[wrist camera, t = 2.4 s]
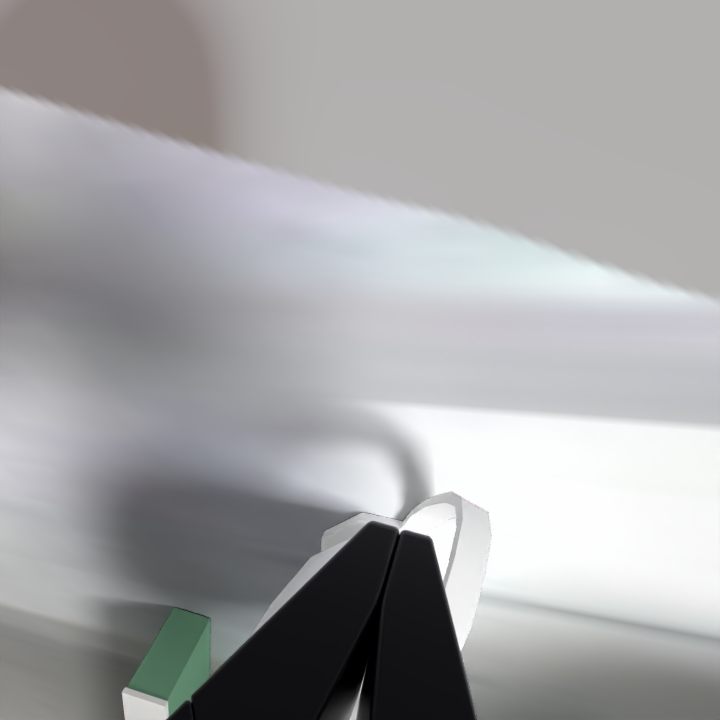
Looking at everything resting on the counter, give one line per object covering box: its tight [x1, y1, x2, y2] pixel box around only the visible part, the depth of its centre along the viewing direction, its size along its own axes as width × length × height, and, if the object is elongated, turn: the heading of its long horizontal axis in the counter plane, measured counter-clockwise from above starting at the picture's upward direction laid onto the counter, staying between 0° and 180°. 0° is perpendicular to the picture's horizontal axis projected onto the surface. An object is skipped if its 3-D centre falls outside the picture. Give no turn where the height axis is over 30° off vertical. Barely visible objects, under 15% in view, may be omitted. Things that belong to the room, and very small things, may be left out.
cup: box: [250, 492, 492, 720], centre depth 18 cm, size 7×10×8 cm
